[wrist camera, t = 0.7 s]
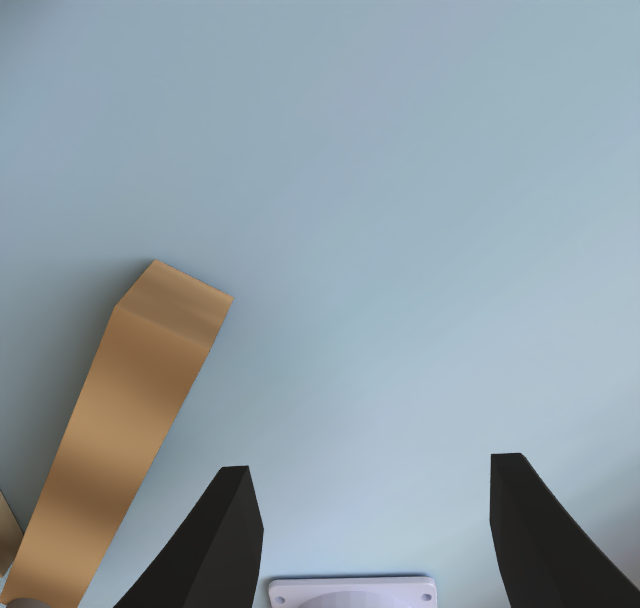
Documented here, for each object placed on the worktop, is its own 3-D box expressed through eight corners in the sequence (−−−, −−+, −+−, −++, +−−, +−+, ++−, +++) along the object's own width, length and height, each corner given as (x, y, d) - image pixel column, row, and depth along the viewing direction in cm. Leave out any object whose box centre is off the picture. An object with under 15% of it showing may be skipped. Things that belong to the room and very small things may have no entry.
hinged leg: (95, 568, 27) (56, 647, 23) (35, 545, 26) (-12, 622, 23) (234, 297, 19) (207, 355, 16) (155, 258, 19) (110, 311, 16)
